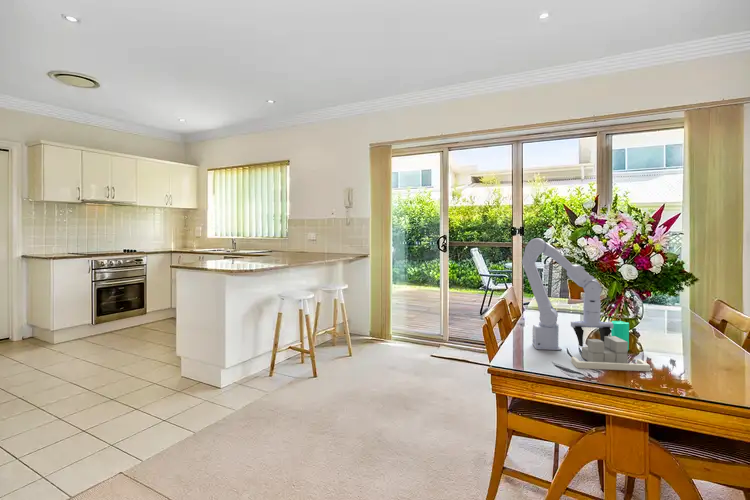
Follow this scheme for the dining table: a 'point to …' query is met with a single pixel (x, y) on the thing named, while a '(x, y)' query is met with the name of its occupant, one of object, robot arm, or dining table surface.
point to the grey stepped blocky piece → (606, 350)
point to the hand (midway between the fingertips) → (591, 346)
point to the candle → (620, 330)
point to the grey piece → (612, 365)
